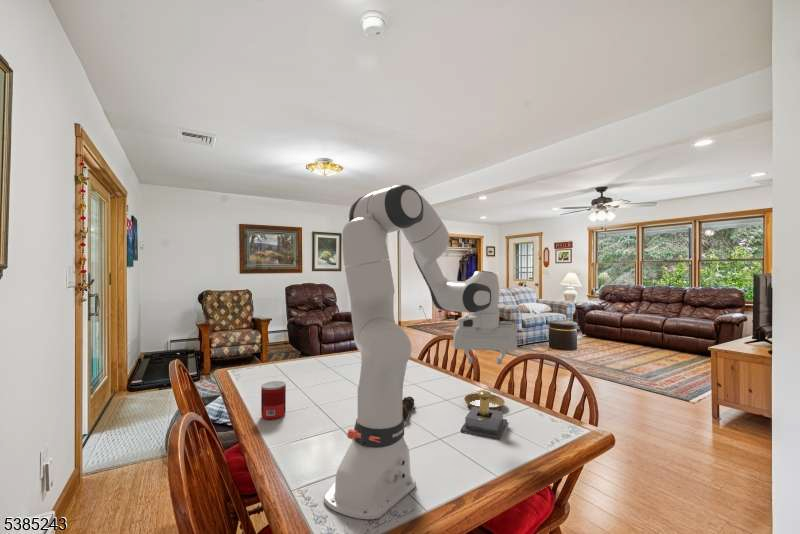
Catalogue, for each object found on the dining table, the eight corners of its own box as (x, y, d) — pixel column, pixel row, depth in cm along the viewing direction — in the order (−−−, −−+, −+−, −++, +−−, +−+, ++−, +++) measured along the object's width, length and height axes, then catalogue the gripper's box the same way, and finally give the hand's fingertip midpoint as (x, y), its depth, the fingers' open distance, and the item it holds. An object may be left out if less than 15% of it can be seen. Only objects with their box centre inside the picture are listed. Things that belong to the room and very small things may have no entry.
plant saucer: (513, 411, 132) (513, 404, 132) (477, 416, 127) (477, 409, 127) (489, 397, 146) (489, 391, 146) (457, 402, 141) (457, 395, 141)
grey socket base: (499, 439, 110) (499, 426, 110) (460, 431, 115) (460, 419, 115) (507, 421, 123) (507, 409, 123) (471, 415, 128) (471, 404, 128)
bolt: (412, 410, 137) (401, 425, 123) (401, 402, 138) (389, 416, 124) (419, 397, 137) (410, 411, 122) (408, 389, 138) (397, 402, 123)
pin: (491, 429, 117) (491, 395, 117) (479, 429, 117) (479, 394, 117) (489, 424, 121) (489, 390, 121) (477, 424, 121) (477, 390, 121)
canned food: (289, 415, 127) (289, 384, 127) (268, 422, 121) (268, 389, 121) (278, 409, 132) (278, 379, 132) (257, 416, 127) (257, 384, 127)
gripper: (514, 320, 121) (514, 361, 121) (452, 318, 123) (452, 360, 123) (520, 322, 115) (519, 366, 115) (454, 321, 116) (454, 365, 116)
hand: (484, 363), depth 119 cm, fingers open, 8 cm apart
